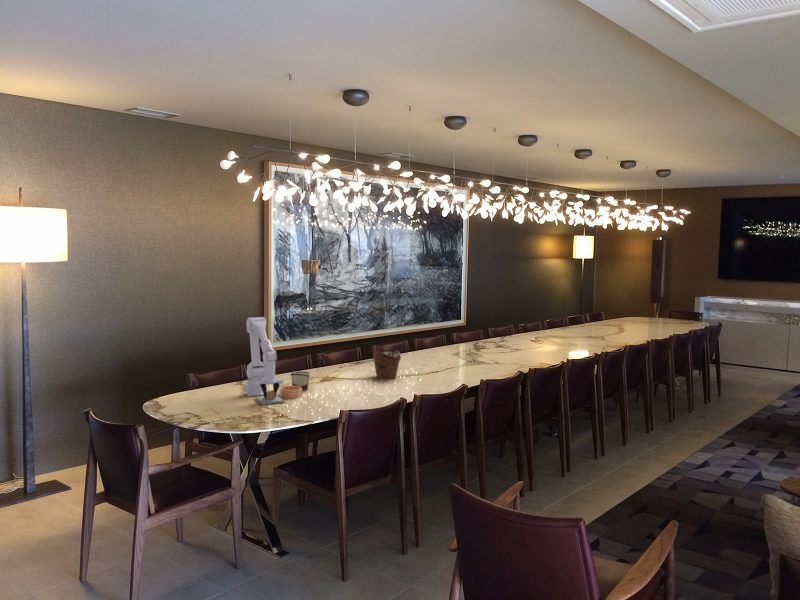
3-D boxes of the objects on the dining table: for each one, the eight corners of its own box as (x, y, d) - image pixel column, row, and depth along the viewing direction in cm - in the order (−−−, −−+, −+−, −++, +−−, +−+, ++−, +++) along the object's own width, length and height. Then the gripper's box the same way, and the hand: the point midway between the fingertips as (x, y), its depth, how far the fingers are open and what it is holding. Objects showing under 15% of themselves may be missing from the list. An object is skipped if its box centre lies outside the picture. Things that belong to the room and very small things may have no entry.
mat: (260, 405, 343) (260, 404, 343) (254, 399, 355) (254, 398, 355) (285, 403, 349) (285, 402, 349) (279, 397, 361) (279, 396, 361)
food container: (313, 388, 385) (313, 371, 384) (309, 390, 379) (309, 373, 378) (294, 386, 388) (294, 370, 387) (290, 388, 382) (290, 372, 381)
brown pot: (402, 374, 430) (402, 347, 428) (399, 380, 410) (399, 352, 409) (375, 373, 432) (375, 347, 430) (371, 380, 412) (371, 352, 410)
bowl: (283, 399, 357) (283, 391, 357) (278, 394, 368) (278, 386, 368) (303, 397, 362) (303, 389, 362) (297, 392, 373) (297, 385, 372)
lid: (261, 404, 344) (261, 395, 344) (256, 399, 355) (256, 390, 354) (283, 402, 349) (283, 393, 349) (277, 397, 360) (277, 388, 359)
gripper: (258, 375, 344) (258, 400, 345) (284, 373, 350) (284, 397, 351) (255, 372, 350) (255, 397, 351) (281, 370, 356) (281, 394, 358)
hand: (269, 397), depth 352 cm, fingers closed on lid, 4 cm apart
